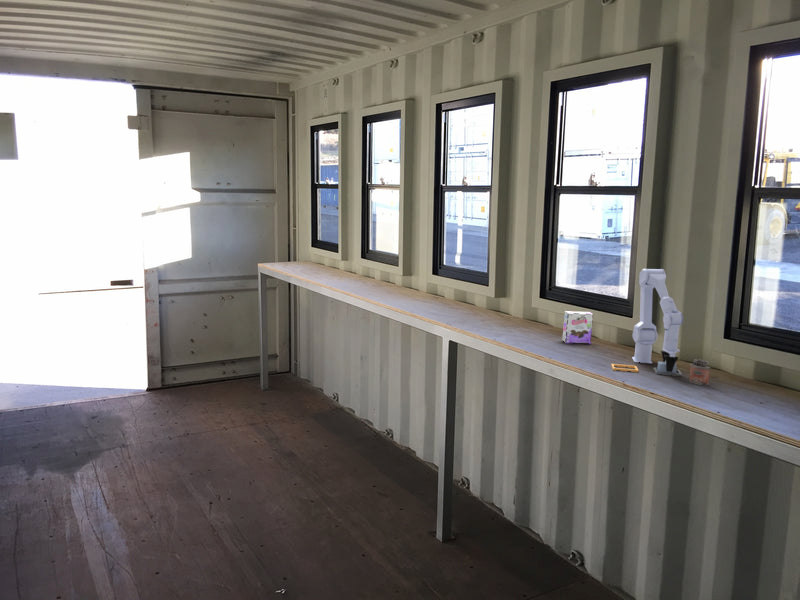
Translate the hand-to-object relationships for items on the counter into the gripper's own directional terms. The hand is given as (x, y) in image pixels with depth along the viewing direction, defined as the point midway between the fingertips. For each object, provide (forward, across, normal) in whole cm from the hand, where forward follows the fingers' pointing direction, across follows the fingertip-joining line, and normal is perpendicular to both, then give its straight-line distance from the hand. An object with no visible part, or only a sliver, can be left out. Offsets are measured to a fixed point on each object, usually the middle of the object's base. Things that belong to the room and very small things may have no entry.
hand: (667, 369), depth 281 cm
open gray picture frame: (+2, 0, 0) cm, 2 cm away
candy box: (+2, +50, +37) cm, 62 cm away
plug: (+2, 0, 0) cm, 2 cm away
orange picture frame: (+2, 0, +18) cm, 18 cm away
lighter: (+2, -13, -10) cm, 16 cm away
